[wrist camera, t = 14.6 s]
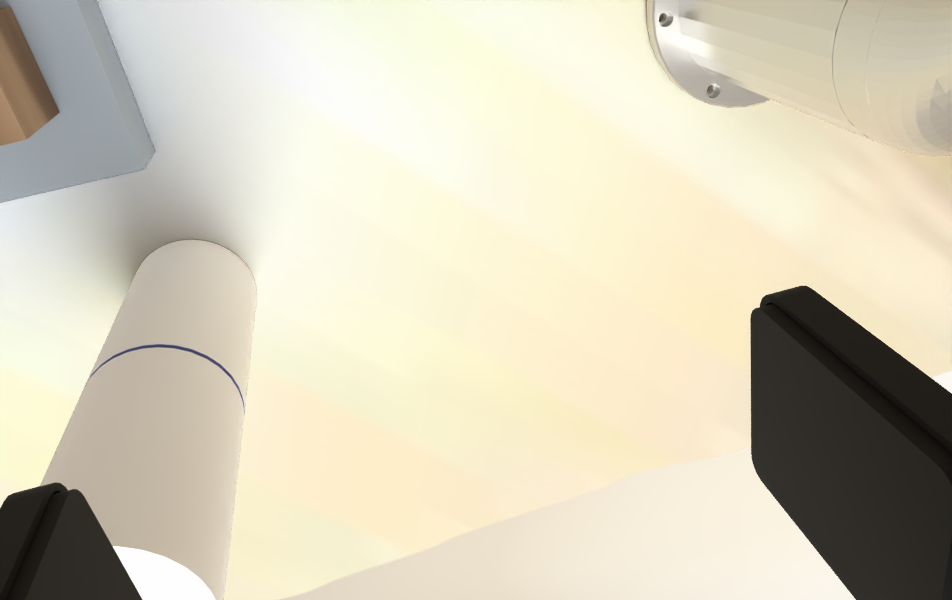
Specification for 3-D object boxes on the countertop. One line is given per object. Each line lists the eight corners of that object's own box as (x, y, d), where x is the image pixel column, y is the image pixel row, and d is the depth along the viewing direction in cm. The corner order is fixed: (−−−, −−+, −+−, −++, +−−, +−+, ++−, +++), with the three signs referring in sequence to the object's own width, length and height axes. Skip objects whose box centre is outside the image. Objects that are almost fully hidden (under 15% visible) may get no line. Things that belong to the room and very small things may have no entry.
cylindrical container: (243, 231, 46) (191, 525, 24) (267, 334, 49) (241, 676, 27) (117, 249, 45) (-57, 574, 23) (151, 354, 48) (27, 724, 26)
